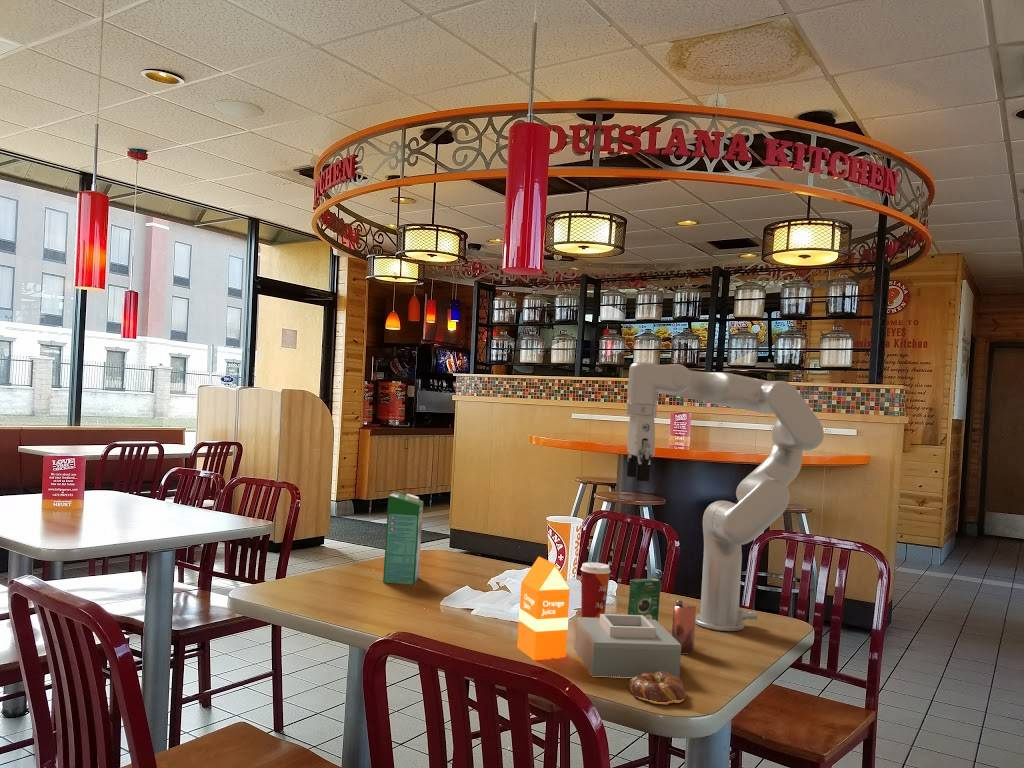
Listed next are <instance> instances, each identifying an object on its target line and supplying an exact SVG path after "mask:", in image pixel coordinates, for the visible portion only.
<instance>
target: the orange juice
mask: <svg viewBox="0 0 1024 768" xmlns="http://www.w3.org/2000/svg"><path fill="white" fill-rule="evenodd" d="M520 583H521V584H520V596H519V597H520V600H519V613H518V629H517V630H518V633H517V647H516V648H517V649H519V650H520V651H522V652H523V653H524V654H525V655H526V656H528V657H529V658H530V659H532V660H533V661H540V660H541V661H542V660H552V659H551V658H555V659H562V658H561V657H566V655H567V640H568V630H569V629H568V628H569V607H570V593H571V591H570V590H571V589H570V587H569V585H568V584H567V581H565V578H564V577H563V575H562V573H561V571H560V570H559V568H558V566H557V564H556V563H554V562H551V561H549V560H547V559H545V558H544V557H542V556H538V557H537V558H536V560H535V561H534V563H533V564H532V566H531V568H530V569H529V571H528V572H527V573H526V574H525V576H524V577H523V579H522V580H521V582H520ZM566 658H567V657H566Z"/></svg>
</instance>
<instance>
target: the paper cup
mask: <svg viewBox="0 0 1024 768" xmlns="http://www.w3.org/2000/svg"><path fill="white" fill-rule="evenodd" d="M580 570H581V593H580V594H581V596H580V597H581V603H580V604H581V605H580V606H581V610H580V611H581V612H580V613H581V614H580V615H581V617H588V618H600V614H606V606H607V598H608V590H609V589H608V588H609V580H610V574H611V573H612V570H610V566H609V564H606V563H602V562H593V561H592V562H591V561H590V562H589V561H588V562H583V563H582V565H581V567H580Z"/></svg>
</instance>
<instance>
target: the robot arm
mask: <svg viewBox="0 0 1024 768" xmlns="http://www.w3.org/2000/svg"><path fill="white" fill-rule="evenodd" d="M659 393H660V394H663V395H668V396H674V397H679V398H683V399H684V398H685V399H690V400H695V401H701V402H703V403H704V402H705V403H708V404H712V405H719V406H723V407H724V406H725V407H730V408H735V409H740V410H745V411H750V412H756V413H760V414H769V415H770V414H771V415H775V416H776V418H777V420H776V421H775V422H774V424H773V426H772V431H771V438H772V449H771V452H770V454H769V455H768V456H767V457H766V459H764V460H763V461H762V463H760V464H759V465H758V466H757V467H755V469H753V471H751V472H750V473H749V474H748V475H747V476H745V478H743V479H742V480H741V481H740V482H739V484H738V485H737V487H736V489H735V490H736V491H735V495H736V498H737V501H738V502H737V503H735V502H732V501H729V500H716V501H714V502H712V503H710V504H709V505H708V506H707V507H706V509H705V510H704V513H703V516H702V534H703V559H702V577H701V578H702V580H701V591H700V593H701V595H700V612H699V613H698V614H697V613H696V620H695V625H698V626H700V627H703V628H705V629H709V630H710V629H711V630H713V631H722V632H723V631H724V632H736V631H742V630H743V629H744V628H745V622H744V621H745V620H749V621H750V620H753V621H754V620H755V621H756V620H757V619H758V613H757V612H756V611H749V610H745V609H744V610H743V609H742V608H740V598H741V597H740V594H741V580H742V579H741V577H742V576H741V575H742V564H743V563H742V561H743V552H742V551H743V550H742V545H743V546H744V545H746V544H749V543H750V542H752V541H754V540H755V539H756V538H758V537H759V536H760V535H761V534H762V533H763V532H765V530H767V528H769V527H770V526H771V525H772V524H773V523H774V522H775V521H777V520H778V518H780V516H782V515H783V514H784V512H785V511H786V509H787V508H788V506H789V503H790V496H791V495H790V491H789V488H788V486H789V485H790V484H791V483H792V482H793V481H794V480H795V478H797V476H798V475H799V473H800V471H801V468H802V464H803V455H804V454H803V453H804V451H805V452H806V451H812V450H813V451H814V449H815V450H816V449H817V448H818V447H819V446H821V444H822V443H823V440H824V437H825V431H824V427H823V426H822V425H823V424H822V423H821V421H820V419H819V418H818V417H817V416H816V414H815V413H814V411H813V409H812V408H811V407H810V406H809V404H808V403H807V402H806V400H805V398H803V397H802V395H801V394H800V393H799V391H798V390H797V389H796V387H794V386H793V385H792V384H790V382H787V381H784V380H765V379H761V378H760V379H759V378H755V377H750V376H746V375H745V376H744V375H740V374H734V373H731V372H722V371H717V372H716V371H714V372H710V371H709V372H707V371H706V372H705V371H696V370H690V369H688V367H686V366H684V364H683V365H682V364H679V363H673V364H672V363H671V364H655V363H651V362H633V363H632V364H630V366H629V371H628V385H627V399H626V400H627V405H626V417H629V421H628V432H627V444H626V445H627V446H626V448H627V449H626V451H627V454H628V455H627V462H626V463H627V464H626V477H627V478H628V477H629V478H635V480H636V481H637V482H649V481H650V474H651V472H650V471H651V458H652V457H654V456H655V451H656V450H655V448H656V446H655V444H656V443H655V442H656V440H655V439H656V431H655V430H656V428H655V427H656V424H655V419H657V411H658V399H659V398H658V394H659Z"/></svg>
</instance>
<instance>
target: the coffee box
mask: <svg viewBox="0 0 1024 768" xmlns="http://www.w3.org/2000/svg"><path fill="white" fill-rule="evenodd" d="M629 581H630V582H629V591H628V592H629V593H628V594H629V595H628V606H627V607H628V608H627V609H628V610H627V615H643V616H644V617H645V618H646V619H649V620H656V621H657V622H658V623H659V614H660V613H659V612H660V611H659V609H660V599H661V598H660V596H661V585H662V583H661V582H662V580H661V579H658V578H655V577H653V578H636V579H630V580H629Z"/></svg>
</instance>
